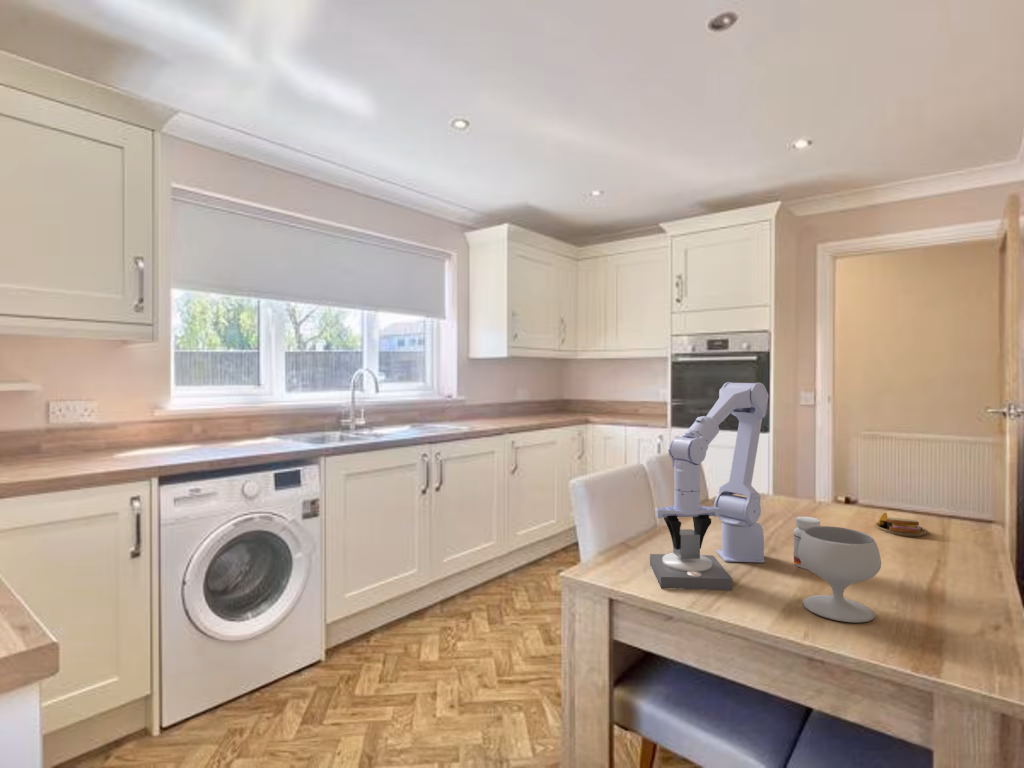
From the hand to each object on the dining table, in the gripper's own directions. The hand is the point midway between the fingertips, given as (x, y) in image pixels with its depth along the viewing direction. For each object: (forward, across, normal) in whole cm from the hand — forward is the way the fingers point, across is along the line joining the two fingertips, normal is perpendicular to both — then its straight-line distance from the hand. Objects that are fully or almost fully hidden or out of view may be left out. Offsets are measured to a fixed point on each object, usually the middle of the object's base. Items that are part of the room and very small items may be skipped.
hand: (687, 547), depth 128 cm
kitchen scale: (+6, 0, +2) cm, 6 cm away
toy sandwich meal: (+7, -75, -26) cm, 80 cm away
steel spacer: (+2, 0, 0) cm, 2 cm away
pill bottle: (+6, -31, -2) cm, 32 cm away
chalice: (+6, -22, +22) cm, 31 cm away
